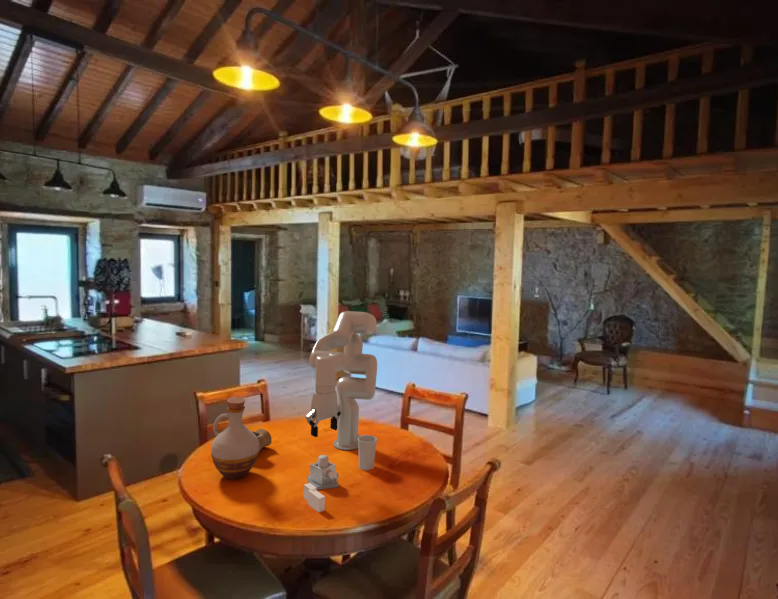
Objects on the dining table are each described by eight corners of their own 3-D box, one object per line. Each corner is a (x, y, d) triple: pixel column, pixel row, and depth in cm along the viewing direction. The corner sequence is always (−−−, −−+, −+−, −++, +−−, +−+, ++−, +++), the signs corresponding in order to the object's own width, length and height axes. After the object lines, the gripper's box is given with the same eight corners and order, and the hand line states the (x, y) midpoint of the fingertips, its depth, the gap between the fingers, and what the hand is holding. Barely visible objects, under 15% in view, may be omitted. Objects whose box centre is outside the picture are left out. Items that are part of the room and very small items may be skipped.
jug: (196, 479, 180) (196, 401, 178) (228, 461, 197) (229, 389, 194) (238, 490, 173) (239, 409, 170) (268, 470, 190) (269, 396, 187)
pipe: (273, 447, 213) (274, 425, 212) (257, 462, 197) (257, 438, 196) (254, 445, 214) (254, 423, 213) (237, 460, 198) (237, 436, 197)
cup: (380, 467, 197) (381, 438, 196) (366, 473, 191) (367, 443, 190) (366, 461, 202) (367, 433, 201) (352, 466, 196) (353, 438, 195)
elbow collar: (309, 479, 181) (310, 464, 181) (323, 474, 186) (323, 459, 186) (328, 489, 174) (328, 473, 174) (341, 483, 179) (342, 467, 179)
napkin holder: (329, 515, 159) (330, 499, 159) (295, 515, 159) (295, 499, 158) (332, 493, 174) (332, 478, 174) (300, 493, 173) (301, 478, 173)
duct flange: (332, 475, 188) (333, 450, 187) (338, 487, 178) (339, 461, 177) (307, 478, 184) (307, 453, 184) (311, 490, 175) (312, 464, 174)
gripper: (335, 382, 187) (334, 424, 189) (300, 390, 174) (299, 436, 176) (348, 386, 182) (347, 429, 184) (313, 395, 169) (312, 441, 171)
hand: (324, 432), depth 180 cm, fingers open, 9 cm apart
